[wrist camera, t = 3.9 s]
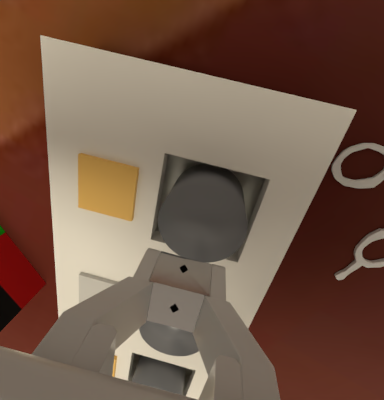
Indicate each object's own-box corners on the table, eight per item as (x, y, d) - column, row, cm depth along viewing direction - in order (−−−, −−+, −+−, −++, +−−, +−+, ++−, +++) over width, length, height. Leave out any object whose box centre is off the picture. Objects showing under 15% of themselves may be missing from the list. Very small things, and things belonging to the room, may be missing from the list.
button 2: (192, 348, 21) (185, 393, 18) (182, 375, 23) (175, 420, 20) (145, 335, 21) (130, 377, 18) (139, 362, 23) (125, 405, 20)
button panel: (316, 104, 14) (360, 110, 9) (203, 373, 27) (197, 433, 23) (97, 52, 15) (35, 33, 10) (89, 341, 28) (61, 392, 23)
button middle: (216, 280, 17) (213, 321, 14) (202, 318, 19) (197, 363, 16) (158, 264, 17) (143, 302, 14) (150, 304, 19) (135, 345, 16)
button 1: (253, 173, 14) (260, 198, 10) (231, 235, 15) (232, 271, 12) (180, 155, 14) (165, 174, 11) (167, 218, 16) (152, 250, 12)
